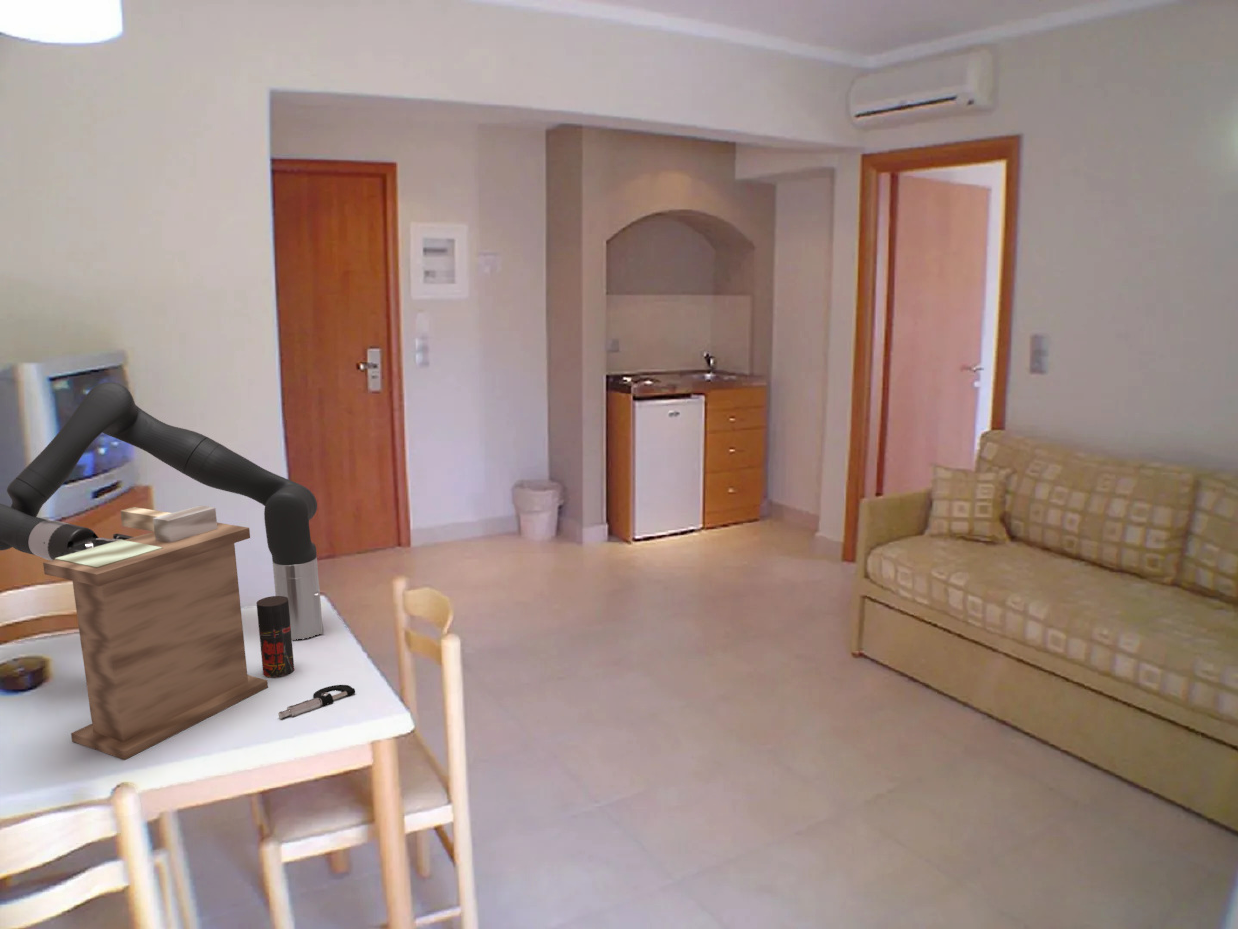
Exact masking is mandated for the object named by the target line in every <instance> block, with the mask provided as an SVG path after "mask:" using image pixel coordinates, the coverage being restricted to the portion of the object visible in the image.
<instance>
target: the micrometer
mask: <svg viewBox="0 0 1238 929" xmlns="http://www.w3.org/2000/svg"><path fill="white" fill-rule="evenodd" d="M335 690H336V691H337V692H339V693H335V694H333V695H332V694H331V693H330V692H336V691H335ZM355 693H356V689H355V688H354V687H352V686H351V685H349V684H336V685H335V684H334V685H330V686H326V687H323V688H320V689H318V690H317V691H315V692H314V693H313V694H312V698H311V699H309V700H308V699H307V700H305V701H302V702H300V703H296V704H294V705H293V704H292V705H289V706H287V707H286V709H285V710H283V711H279V712H278V718H279V720H282V719H284V718H287V717H290V718H294V717H296V716H299V715H302V714H306V713H308V712H311V711H314V710H316V709H320V708H321V707H325V706H328V705H332V704H334V700H337V699H341V698H343V697H348V696H350V695H353V694H355Z"/></svg>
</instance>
